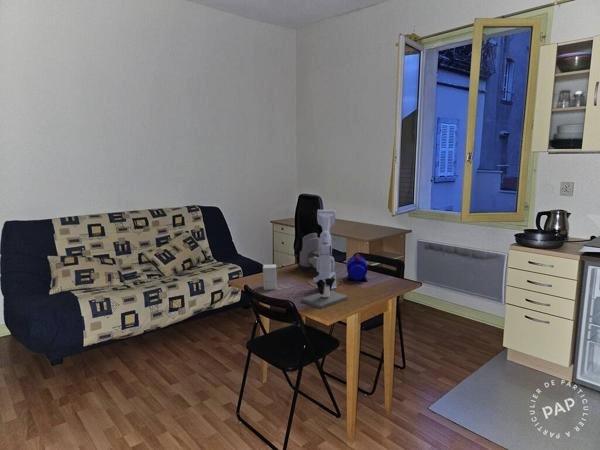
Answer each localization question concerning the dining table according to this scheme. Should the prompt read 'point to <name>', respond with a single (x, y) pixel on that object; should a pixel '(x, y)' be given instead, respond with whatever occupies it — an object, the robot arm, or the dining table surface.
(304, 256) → the juicer
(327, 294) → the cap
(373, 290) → the dining table surface
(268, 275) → the supplement box
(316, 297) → the post board
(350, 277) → the alarm clock
